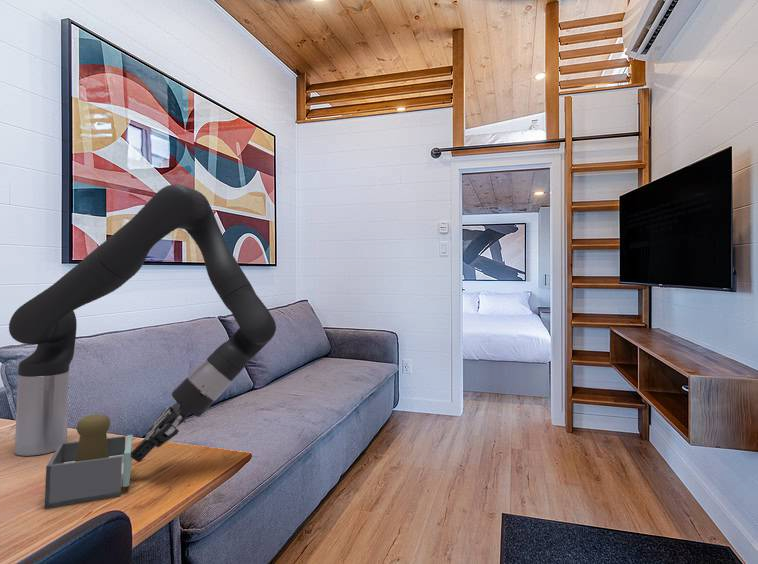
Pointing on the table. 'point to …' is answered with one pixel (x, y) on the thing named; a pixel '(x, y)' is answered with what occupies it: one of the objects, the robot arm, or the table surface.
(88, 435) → the cork
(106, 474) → the box
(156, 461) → the table surface
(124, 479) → the drawer
